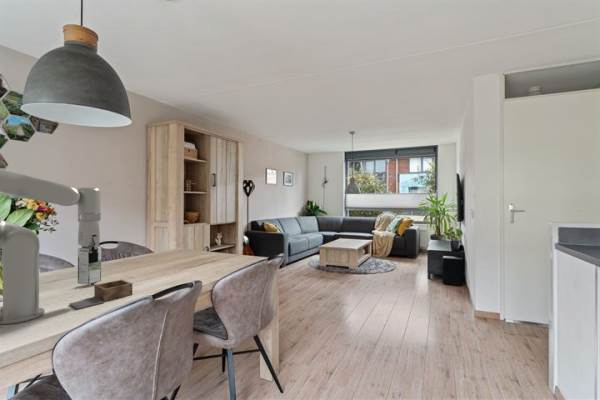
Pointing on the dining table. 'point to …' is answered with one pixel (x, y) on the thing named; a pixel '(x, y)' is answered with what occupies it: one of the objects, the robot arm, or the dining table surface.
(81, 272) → the syrup box
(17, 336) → the dining table surface
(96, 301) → the mat
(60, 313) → the dining table surface
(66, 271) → the dining table surface
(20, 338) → the dining table surface
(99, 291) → the wooden cubby shelf
